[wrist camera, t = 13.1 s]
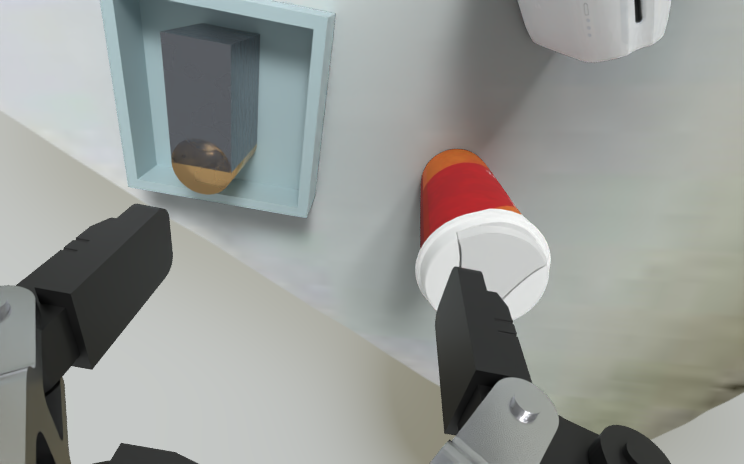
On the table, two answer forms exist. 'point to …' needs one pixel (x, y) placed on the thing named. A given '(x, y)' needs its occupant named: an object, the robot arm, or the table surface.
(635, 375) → the table surface
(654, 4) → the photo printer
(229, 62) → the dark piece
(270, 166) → the bin
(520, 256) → the paper cup
